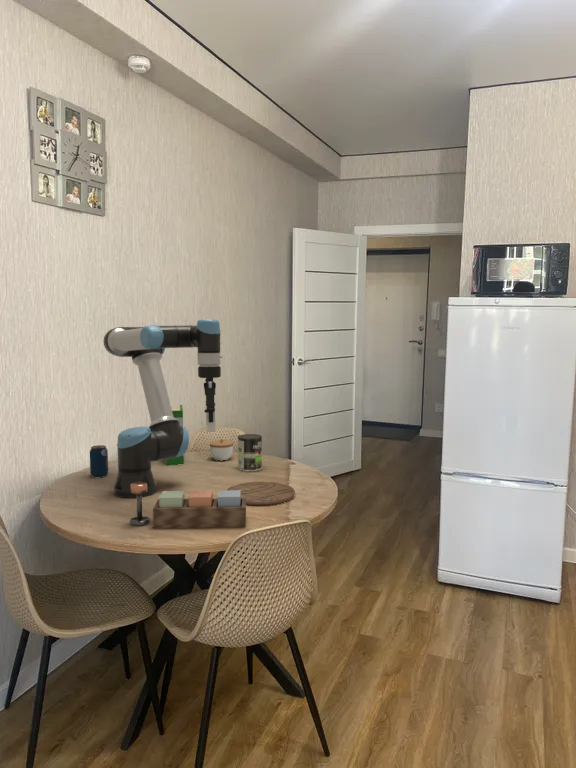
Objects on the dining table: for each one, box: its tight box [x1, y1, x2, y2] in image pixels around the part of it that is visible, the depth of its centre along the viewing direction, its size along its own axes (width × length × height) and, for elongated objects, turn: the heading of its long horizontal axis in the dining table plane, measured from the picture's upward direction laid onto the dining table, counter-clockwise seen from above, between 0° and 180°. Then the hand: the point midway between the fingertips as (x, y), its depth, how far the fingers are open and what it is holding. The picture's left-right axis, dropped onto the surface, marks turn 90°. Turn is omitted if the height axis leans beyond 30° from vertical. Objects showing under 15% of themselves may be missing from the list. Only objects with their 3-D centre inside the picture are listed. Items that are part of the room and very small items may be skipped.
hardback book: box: [165, 404, 185, 466], centre depth 258 cm, size 18×7×24 cm, turn 11°
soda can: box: [89, 445, 109, 478], centre depth 232 cm, size 7×7×12 cm
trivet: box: [226, 481, 296, 507], centre depth 208 cm, size 25×25×2 cm
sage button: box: [158, 490, 186, 508], centre depth 179 cm, size 7×7×4 cm
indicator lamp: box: [129, 482, 151, 527], centre depth 178 cm, size 6×6×12 cm
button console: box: [152, 497, 247, 529], centre depth 180 cm, size 28×10×6 cm, turn 93°
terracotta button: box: [188, 490, 214, 507], centre depth 179 cm, size 7×7×4 cm
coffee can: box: [237, 433, 263, 472], centre depth 245 cm, size 10×10×14 cm
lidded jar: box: [209, 438, 234, 462], centre depth 261 cm, size 11×11×9 cm
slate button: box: [217, 489, 241, 507], centre depth 180 cm, size 7×7×4 cm
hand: (210, 428), depth 194 cm, fingers open, 13 cm apart
